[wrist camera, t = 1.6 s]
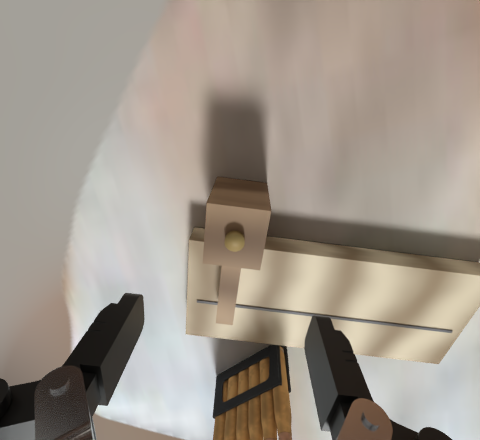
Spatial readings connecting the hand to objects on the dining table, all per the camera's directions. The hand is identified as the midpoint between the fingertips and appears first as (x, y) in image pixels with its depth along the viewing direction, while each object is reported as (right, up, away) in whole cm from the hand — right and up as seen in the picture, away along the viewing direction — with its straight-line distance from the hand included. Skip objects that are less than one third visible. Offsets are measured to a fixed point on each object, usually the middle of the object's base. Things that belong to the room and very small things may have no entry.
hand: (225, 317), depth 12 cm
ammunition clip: (+2, -14, +22) cm, 26 cm away
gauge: (0, +3, +13) cm, 14 cm away
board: (+9, -3, +16) cm, 19 cm away
